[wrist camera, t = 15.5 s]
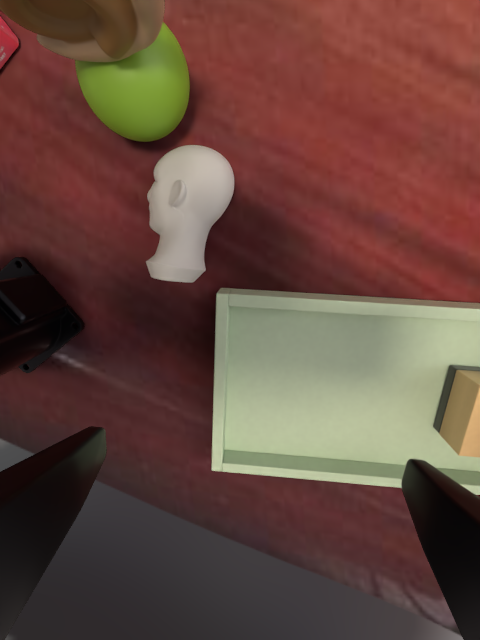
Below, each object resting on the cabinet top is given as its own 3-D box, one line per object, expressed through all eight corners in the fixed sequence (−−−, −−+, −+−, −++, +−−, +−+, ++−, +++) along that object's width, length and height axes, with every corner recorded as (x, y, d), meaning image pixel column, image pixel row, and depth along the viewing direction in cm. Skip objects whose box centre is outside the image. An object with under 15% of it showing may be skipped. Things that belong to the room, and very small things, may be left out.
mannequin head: (186, 149, 19) (254, 174, 18) (149, 264, 21) (208, 293, 20) (144, 114, 15) (228, 143, 14) (103, 260, 17) (173, 297, 16)
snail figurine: (219, 147, 18) (147, -7, 7) (118, 157, 19) (-111, 28, 7) (211, 40, 17) (103, -398, 5) (102, 53, 17) (-219, -319, 6)
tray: (215, 451, 24) (211, 471, 22) (220, 287, 21) (216, 293, 18) (541, 480, 23) (568, 503, 21) (610, 310, 19) (651, 319, 17)
